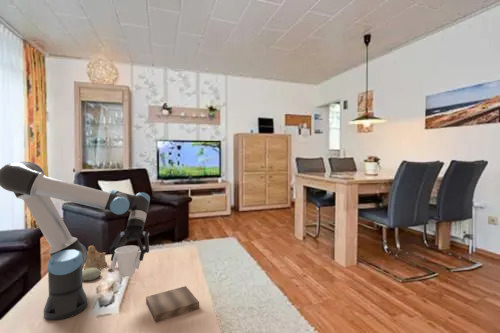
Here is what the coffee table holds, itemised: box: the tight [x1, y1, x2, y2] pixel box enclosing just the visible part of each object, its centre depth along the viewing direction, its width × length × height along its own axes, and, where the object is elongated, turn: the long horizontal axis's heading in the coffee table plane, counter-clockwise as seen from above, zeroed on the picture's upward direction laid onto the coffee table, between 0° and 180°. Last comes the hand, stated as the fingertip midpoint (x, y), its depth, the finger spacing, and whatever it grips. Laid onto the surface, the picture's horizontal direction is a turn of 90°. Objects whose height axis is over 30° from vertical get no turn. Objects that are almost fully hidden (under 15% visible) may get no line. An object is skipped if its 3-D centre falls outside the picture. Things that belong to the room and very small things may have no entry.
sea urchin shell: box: [82, 267, 102, 282], centre depth 140 cm, size 9×8×8 cm
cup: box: [115, 245, 140, 277], centre depth 116 cm, size 10×10×11 cm
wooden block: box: [145, 285, 200, 324], centre depth 115 cm, size 18×16×3 cm
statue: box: [83, 245, 108, 271], centre depth 154 cm, size 12×14×10 cm
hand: (124, 268), depth 113 cm, fingers closed on cup, 9 cm apart
